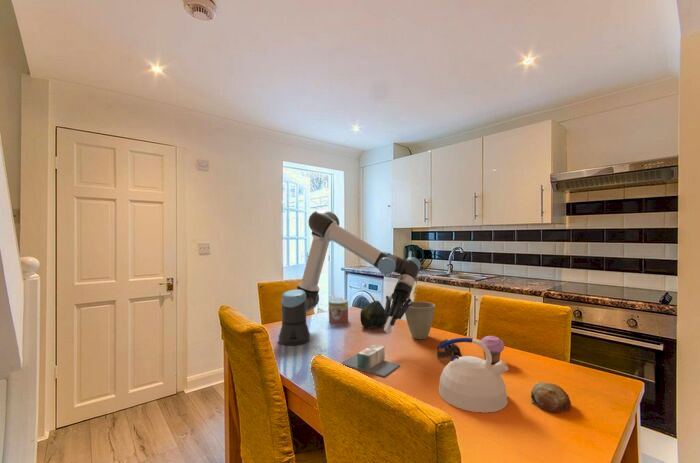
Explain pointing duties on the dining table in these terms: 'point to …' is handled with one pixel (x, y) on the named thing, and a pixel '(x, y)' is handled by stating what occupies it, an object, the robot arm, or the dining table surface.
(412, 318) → the plant pot
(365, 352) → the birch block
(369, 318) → the squash
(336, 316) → the canned food
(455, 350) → the vr controller
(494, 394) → the kettle
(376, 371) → the mat
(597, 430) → the dining table surface
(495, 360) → the cupcake
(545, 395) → the brown rounded lump
